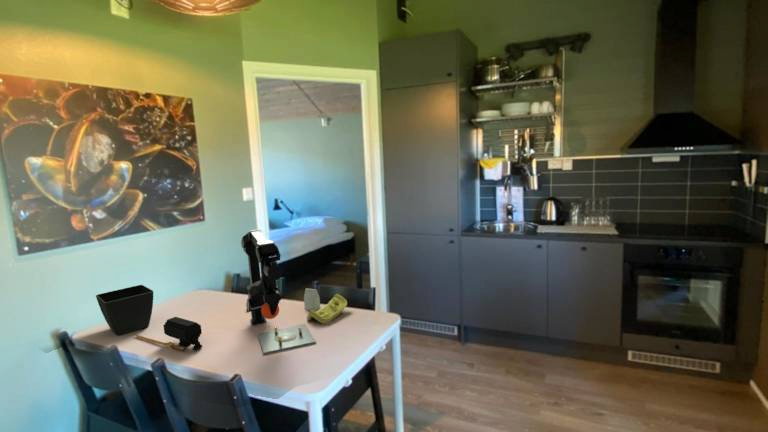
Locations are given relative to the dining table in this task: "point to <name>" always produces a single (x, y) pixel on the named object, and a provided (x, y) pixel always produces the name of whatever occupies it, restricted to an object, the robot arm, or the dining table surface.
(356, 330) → the dining table surface
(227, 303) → the dining table surface
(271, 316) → the clementine
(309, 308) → the tea bag
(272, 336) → the nest plate
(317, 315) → the plastic component
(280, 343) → the brass pins
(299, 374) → the dining table surface
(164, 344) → the katana
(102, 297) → the flower pot
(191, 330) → the security camera
